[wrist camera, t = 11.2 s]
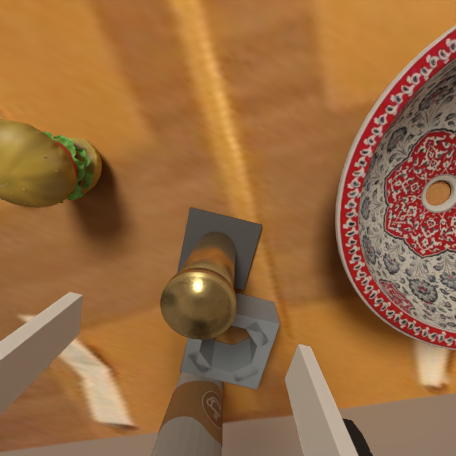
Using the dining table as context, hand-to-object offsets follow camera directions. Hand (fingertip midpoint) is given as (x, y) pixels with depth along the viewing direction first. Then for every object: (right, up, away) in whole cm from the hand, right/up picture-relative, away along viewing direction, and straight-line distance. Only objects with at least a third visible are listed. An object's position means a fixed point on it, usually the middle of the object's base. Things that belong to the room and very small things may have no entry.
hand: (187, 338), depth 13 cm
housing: (+3, -7, +18) cm, 19 cm away
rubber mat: (+1, +4, +15) cm, 16 cm away
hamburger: (-15, +14, +14) cm, 24 cm away
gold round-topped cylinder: (+1, +4, +14) cm, 15 cm away
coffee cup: (-2, -16, +20) cm, 26 cm away
